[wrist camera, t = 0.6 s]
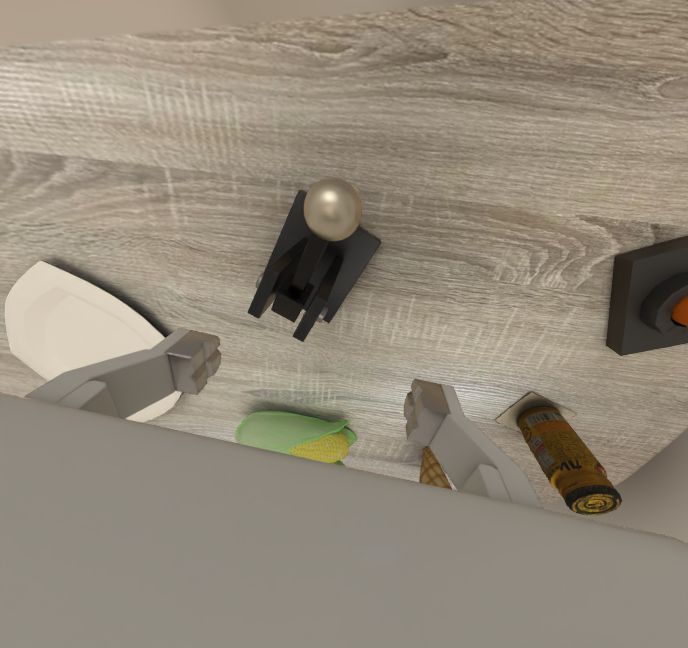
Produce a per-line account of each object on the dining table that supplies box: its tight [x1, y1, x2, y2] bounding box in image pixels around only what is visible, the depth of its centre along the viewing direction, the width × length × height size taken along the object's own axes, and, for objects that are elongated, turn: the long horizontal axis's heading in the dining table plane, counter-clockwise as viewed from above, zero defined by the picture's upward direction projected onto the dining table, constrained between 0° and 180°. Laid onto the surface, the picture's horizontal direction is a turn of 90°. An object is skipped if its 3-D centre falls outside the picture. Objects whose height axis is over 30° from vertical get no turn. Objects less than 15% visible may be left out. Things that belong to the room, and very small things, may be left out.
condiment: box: [495, 392, 622, 515], centre depth 34 cm, size 7×8×12 cm
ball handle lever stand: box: [248, 190, 381, 342], centre depth 25 cm, size 12×10×13 cm
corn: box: [235, 411, 357, 467], centre depth 42 cm, size 8×8×20 cm
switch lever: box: [271, 177, 362, 322], centre depth 18 cm, size 12×3×3 cm, turn 151°
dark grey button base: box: [606, 236, 688, 356], centre depth 27 cm, size 12×9×4 cm
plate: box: [5, 260, 182, 423], centre depth 41 cm, size 27×27×2 cm
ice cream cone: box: [419, 447, 452, 490], centre depth 39 cm, size 7×6×15 cm
